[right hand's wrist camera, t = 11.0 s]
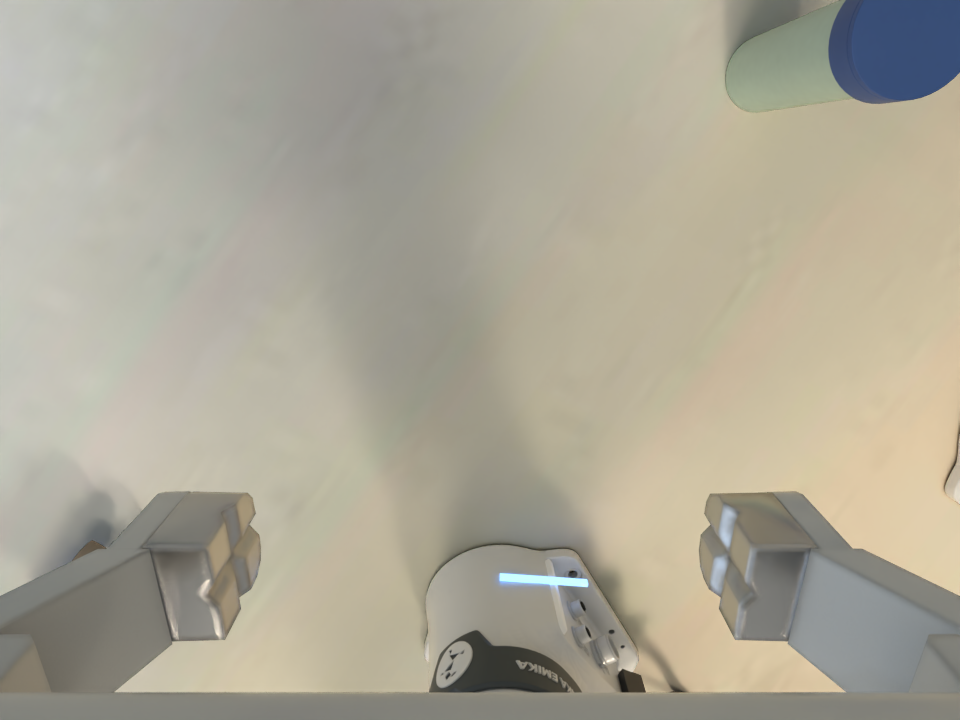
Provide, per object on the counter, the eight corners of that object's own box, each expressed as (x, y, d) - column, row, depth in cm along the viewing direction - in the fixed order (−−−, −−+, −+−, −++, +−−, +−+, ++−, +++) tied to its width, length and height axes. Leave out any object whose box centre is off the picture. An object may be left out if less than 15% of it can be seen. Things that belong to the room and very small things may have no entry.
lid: (895, 126, 29) (923, 124, 27) (802, 65, 28) (824, 60, 27) (980, 8, 28) (1015, -3, 26) (883, -60, 27) (912, -76, 25)
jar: (767, 125, 42) (915, 111, 28) (711, 90, 41) (833, 57, 27) (811, 58, 41) (992, 5, 26) (753, 20, 40) (906, -56, 25)
